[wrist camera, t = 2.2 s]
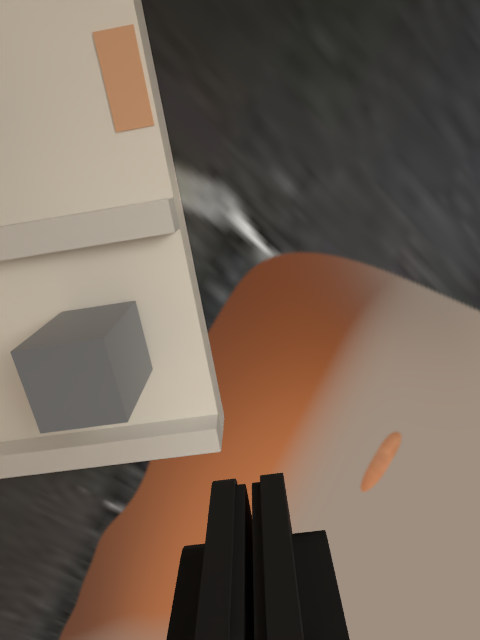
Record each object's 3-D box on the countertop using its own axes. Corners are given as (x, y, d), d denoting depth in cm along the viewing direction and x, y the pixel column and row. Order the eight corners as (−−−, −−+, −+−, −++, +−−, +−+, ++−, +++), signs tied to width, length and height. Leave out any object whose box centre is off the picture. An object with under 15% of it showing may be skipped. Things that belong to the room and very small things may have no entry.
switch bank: (122, -95, 19) (95, -151, 15) (224, 417, 27) (220, 451, 24) (-214, -22, 20) (-306, -59, 17) (-14, 447, 28) (-49, 484, 25)
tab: (135, 300, 22) (103, 338, 17) (152, 369, 24) (127, 422, 19) (61, 311, 23) (10, 351, 18) (82, 379, 24) (40, 433, 19)
